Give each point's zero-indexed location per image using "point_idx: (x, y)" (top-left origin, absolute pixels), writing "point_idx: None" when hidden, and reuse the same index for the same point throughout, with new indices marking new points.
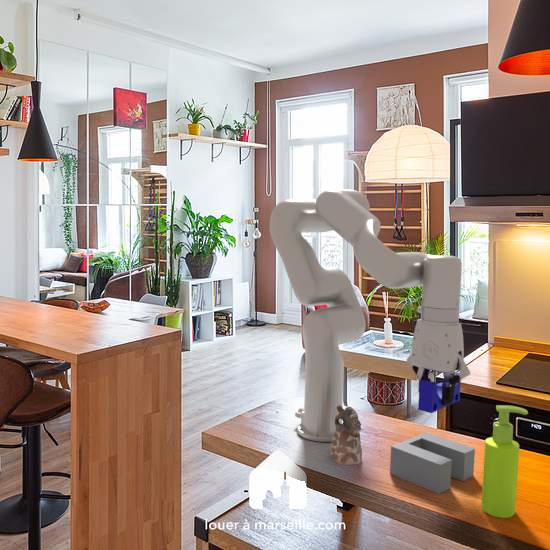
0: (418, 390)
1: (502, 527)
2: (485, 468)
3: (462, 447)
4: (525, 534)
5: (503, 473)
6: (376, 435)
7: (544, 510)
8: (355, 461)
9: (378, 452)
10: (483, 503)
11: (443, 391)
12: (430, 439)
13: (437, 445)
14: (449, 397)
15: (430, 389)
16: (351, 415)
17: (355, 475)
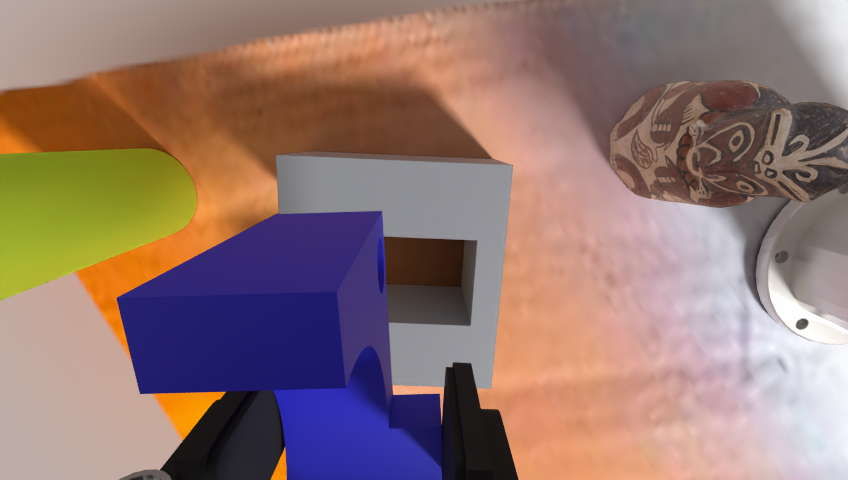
0: (500, 416)
1: (85, 107)
2: (64, 166)
3: None
4: (29, 120)
5: None
6: (680, 371)
7: (84, 284)
8: (619, 126)
9: (606, 266)
10: (160, 159)
11: (218, 423)
12: (441, 339)
13: (400, 320)
14: (205, 415)
15: (200, 266)
16: (787, 120)
17: (567, 55)
